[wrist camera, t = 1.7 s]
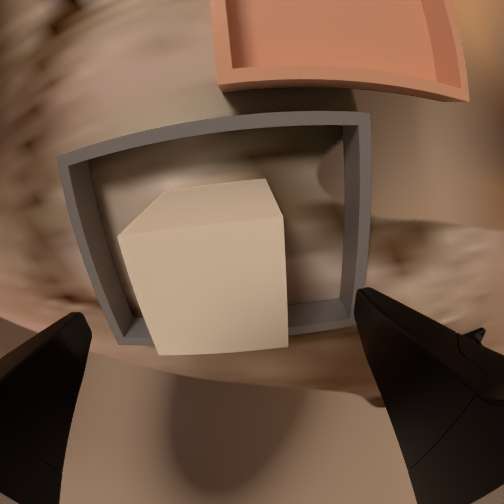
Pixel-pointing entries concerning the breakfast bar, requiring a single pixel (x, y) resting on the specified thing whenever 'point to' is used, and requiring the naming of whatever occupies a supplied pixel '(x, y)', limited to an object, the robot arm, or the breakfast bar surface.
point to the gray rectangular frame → (354, 132)
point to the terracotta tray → (340, 46)
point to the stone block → (210, 269)
